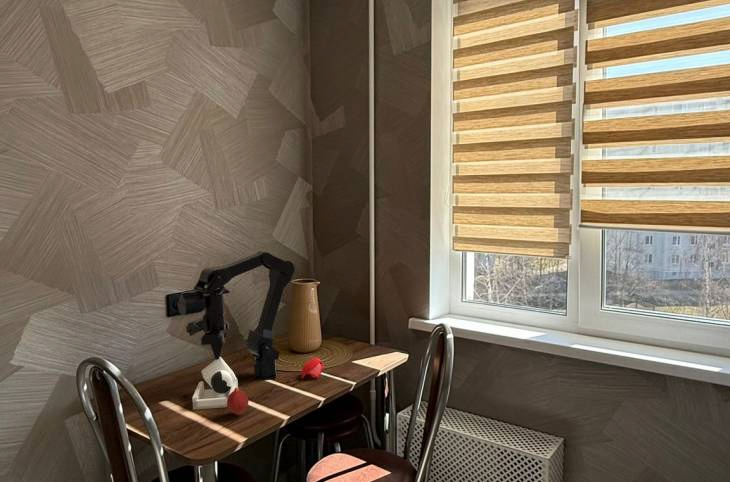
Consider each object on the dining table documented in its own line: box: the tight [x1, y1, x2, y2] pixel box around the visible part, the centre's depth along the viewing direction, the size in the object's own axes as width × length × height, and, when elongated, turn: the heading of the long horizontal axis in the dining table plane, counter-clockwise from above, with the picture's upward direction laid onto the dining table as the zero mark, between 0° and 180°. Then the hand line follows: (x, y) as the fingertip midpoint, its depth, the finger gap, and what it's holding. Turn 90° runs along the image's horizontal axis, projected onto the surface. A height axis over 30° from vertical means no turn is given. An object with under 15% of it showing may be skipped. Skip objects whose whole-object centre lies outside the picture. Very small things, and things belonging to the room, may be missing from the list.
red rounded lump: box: [226, 387, 249, 416], centre depth 159 cm, size 6×6×8 cm
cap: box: [301, 357, 324, 380], centre depth 187 cm, size 8×6×6 cm
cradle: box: [192, 379, 239, 411], centre depth 171 cm, size 11×13×4 cm
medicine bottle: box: [201, 356, 238, 394], centre depth 173 cm, size 7×7×12 cm
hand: (217, 358), depth 177 cm, fingers closed
